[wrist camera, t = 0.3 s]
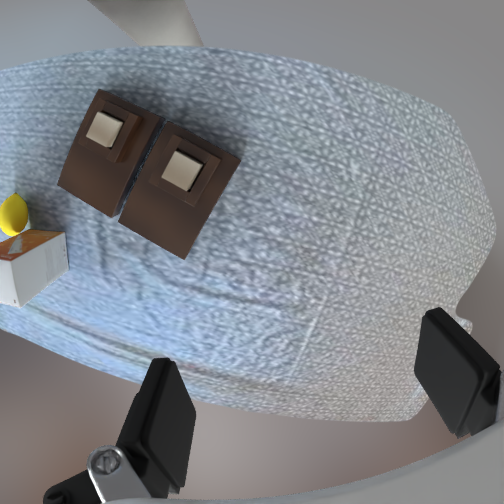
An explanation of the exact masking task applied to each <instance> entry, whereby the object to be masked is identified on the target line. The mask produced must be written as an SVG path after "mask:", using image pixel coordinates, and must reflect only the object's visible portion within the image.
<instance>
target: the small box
mask: <svg viewBox="0 0 504 504" xmlns="http://www.w3.org/2000/svg"><path fill="white" fill-rule="evenodd" d="M67 271H69V267H68V258H67V249H66V238H65V232H58V231H43V230H33V229H29V230H27V231H24V232H22V233H20V234H18V235H16V236H13V237H11V238H9V239H7V240H5V241H3V242H1V243H0V303H2V304H6V305H11V306H14V307H18V308H22V307H23V306H24V305H25V304H26V303H28V302H29V301H30V300H31V299H32V298H34V297H35V296H36V295H37V294H39V293H40V292H41V291H42V290H44V289H45V288H46V287H47V286H49V285H50V284H51V283H52V282H54V281H55V280H56V279H58V278H59V277H60V276H62V275H63V274H64V273H66V272H67Z"/></svg>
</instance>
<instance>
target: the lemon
mask: <svg viewBox="0 0 504 504" xmlns="http://www.w3.org/2000/svg"><path fill="white" fill-rule="evenodd" d="M27 221H28V208H27V204H26V202H25V201H24V200H23V199H22V198H21V197H20V196H19V195H18V194H17V193H14V194H13V195H11V196H10V197H9V198H7V199H6V200H5V201H4V202H3V204H2V205H1V207H0V227H1V229H2V231H3V232H5V233H6V234H7V235H9V236H15V235H17V234H19V233H20V232H21V231H22V230H23V229H24V228H25V226H26V224H27Z"/></svg>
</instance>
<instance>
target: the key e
mask: <svg viewBox="0 0 504 504" xmlns="http://www.w3.org/2000/svg"><path fill="white" fill-rule="evenodd" d="M202 166H203V164H202V163H200V162H198V161H196V160H194V159H192V158H191V157H189V156H187V155H185V154H183V153H181V152H180V151H175V152H174V154H173V156H172V158H171V160H170V162H169V164H168V165H167V167H166V169H165V171H164V173H163V175H162V178H164V179H166V180H167V181H169V182H171V183H173V184H175V185H177V186H178V187H180V188H182V189H184V190H185V191H187V190H189V189H190V187H191V185H192V184H193V182H194V180H195V178H196V176H197V175H198V173H199V171H200V169H201V168H202Z"/></svg>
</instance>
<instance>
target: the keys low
mask: <svg viewBox="0 0 504 504" xmlns="http://www.w3.org/2000/svg"><path fill="white" fill-rule="evenodd" d="M97 112H101V113H105V114H107V115H109V116H111V117H113V118H115V119H117V120H119V121H121V122H123V125H122V127H121V129H120V131H119V133H118V135H117V137H116V139H115V141H114V143H113V145H112V147H105V146H103V145H101V144H100V143H98V142H96V141H94V140H92V139H90V138H88V137H87V136H86V135H87V133H88V131H89V129H90V127H91V125H92V122H93V120H94V118H95V116H96V114H97ZM164 121H165V119H164V118H162V117H160V116H158V115H156V114H154V113H152V112H150V111H148V110H145V109H143V108H141V107H139V106H137V105H135V104H133V103H131V102H129V101H126V100H124V99H122V98H120V97H118V96H115V95H113V94H111V93H109V92H106V91H104V90H101V89H98V91H97V93H96V95H95V97H94V99H93V101H92V103H91V105H90V107H89V109H88V111H87V113H86V115H85V117H84V119H83V121H82V123H81V126H80V128H79V130H78V132H77V134H76V137H75V139H74V141H73V144H72V146H71V149H70V151H69V154H68V156H67V159H66V161H65V164H64V166H63V169H62V172H61V175H60V177H59V180H58V183H57V185H58V186H60V187H62V188H63V189H65V190H66V191H68V192H69V193H71V194H73V195H74V196H76V197H78V198H79V199H81V200H82V201H84V202H86V203H87V204H89V205H91V206H92V207H94V208H96V209H97V210H99V211H100V212H102V213H104V214H105V215H107V216H109V217H111V218H113V217H114V216H116V215H118V214H119V211H120V209H121V207H122V204H123V202H124V200H125V198H126V195H127V193H128V191H129V189H130V187H131V184H132V182H133V180H134V178H135V176H136V174H137V172H138V170H139V168H140V166H141V164H142V162H143V160H144V158H145V156H146V154H147V152H148V150H149V148H150V146H151V144H152V142H153V140H154V139H155V137H156V135H157V133H158V131H159V129H160V128H161V126H162V124H163V122H164Z"/></svg>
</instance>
